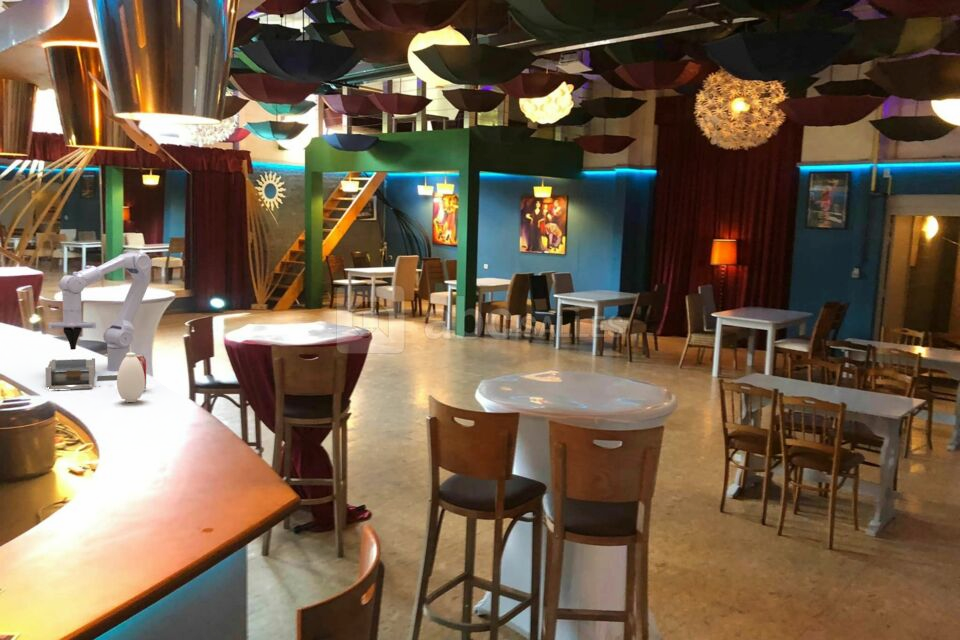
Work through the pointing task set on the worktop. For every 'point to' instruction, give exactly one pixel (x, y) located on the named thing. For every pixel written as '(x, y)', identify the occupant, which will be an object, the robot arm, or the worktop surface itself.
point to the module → (73, 373)
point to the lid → (71, 365)
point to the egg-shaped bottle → (130, 378)
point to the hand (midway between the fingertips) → (73, 349)
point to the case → (61, 377)
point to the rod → (72, 386)
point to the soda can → (143, 363)
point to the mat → (107, 378)
